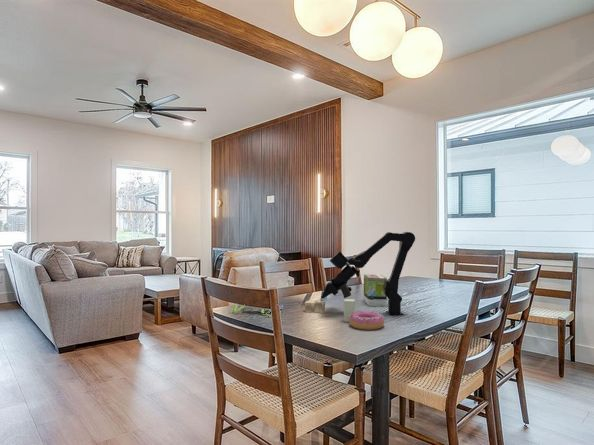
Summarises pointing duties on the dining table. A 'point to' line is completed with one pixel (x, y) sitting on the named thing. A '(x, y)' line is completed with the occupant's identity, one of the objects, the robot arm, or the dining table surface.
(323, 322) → the dining table surface
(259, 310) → the figurine
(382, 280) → the tea box
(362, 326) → the donut
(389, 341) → the dining table surface
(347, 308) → the sage block
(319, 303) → the maple block
